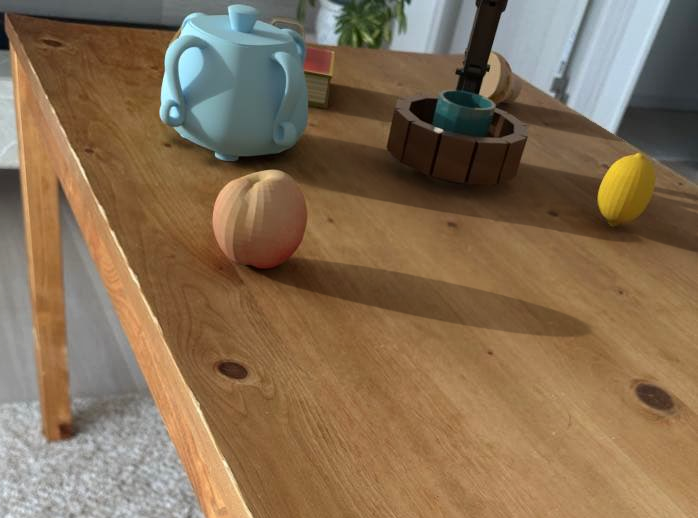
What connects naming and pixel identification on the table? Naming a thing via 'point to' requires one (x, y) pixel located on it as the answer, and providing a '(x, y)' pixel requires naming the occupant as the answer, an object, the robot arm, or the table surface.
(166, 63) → the decorative pot
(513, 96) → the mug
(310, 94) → the hardcover book
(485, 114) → the tumbler
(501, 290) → the table surface
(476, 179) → the ring
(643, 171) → the lemon
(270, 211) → the fruit
